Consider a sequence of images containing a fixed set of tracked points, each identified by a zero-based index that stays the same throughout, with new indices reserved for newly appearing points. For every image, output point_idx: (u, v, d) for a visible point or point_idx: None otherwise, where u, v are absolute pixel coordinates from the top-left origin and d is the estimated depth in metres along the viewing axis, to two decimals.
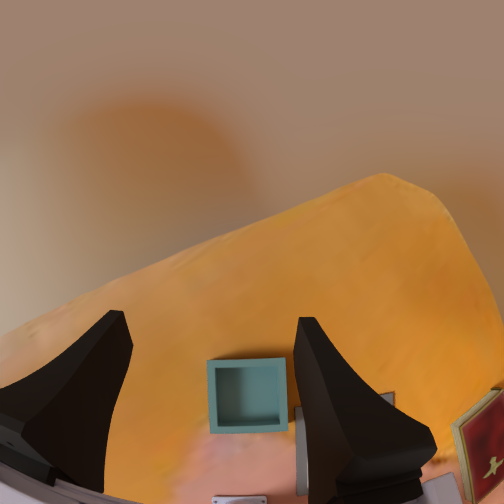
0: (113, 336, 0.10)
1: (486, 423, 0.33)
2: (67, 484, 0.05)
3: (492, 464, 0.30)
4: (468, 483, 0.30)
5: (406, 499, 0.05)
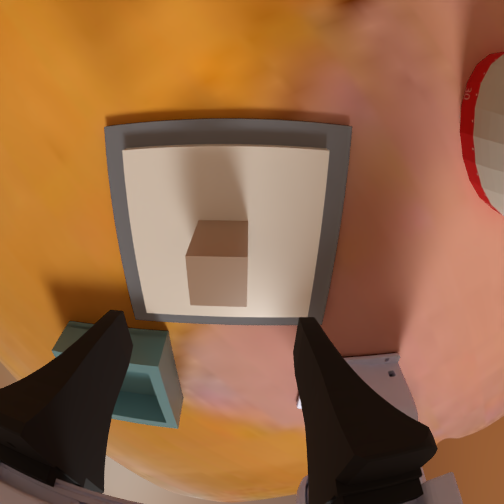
0: (113, 336, 0.10)
1: None
2: (67, 484, 0.05)
3: None
4: None
5: (406, 499, 0.05)
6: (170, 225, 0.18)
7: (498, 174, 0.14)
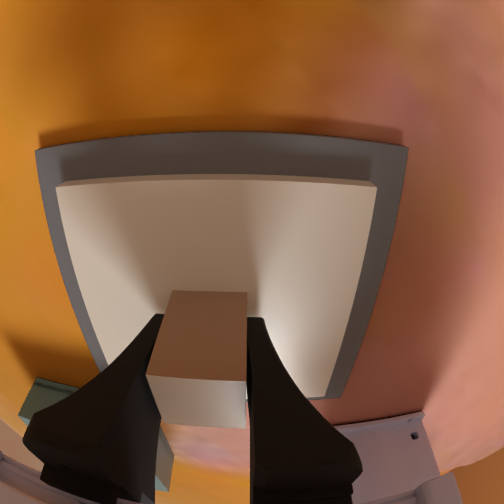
0: None
1: None
2: (131, 503, 0.05)
3: None
4: None
5: None
6: (133, 295, 0.12)
7: None
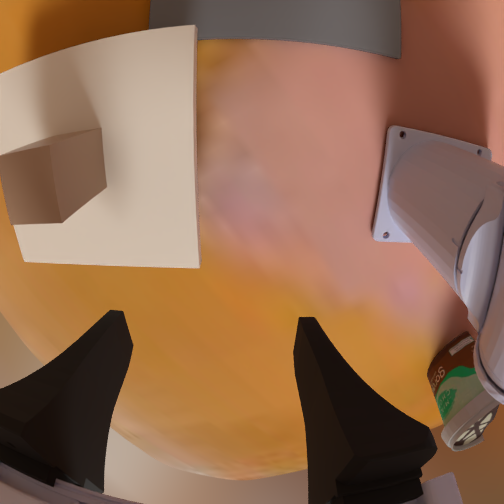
0: (113, 336, 0.10)
1: None
2: (67, 484, 0.05)
3: None
4: None
5: (406, 499, 0.05)
6: None
7: None
